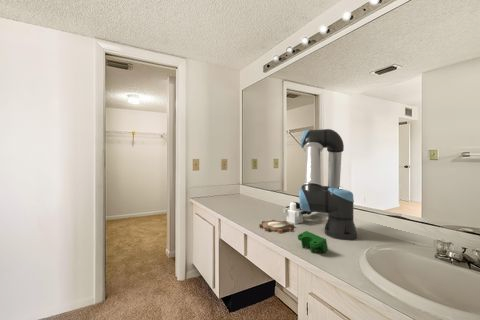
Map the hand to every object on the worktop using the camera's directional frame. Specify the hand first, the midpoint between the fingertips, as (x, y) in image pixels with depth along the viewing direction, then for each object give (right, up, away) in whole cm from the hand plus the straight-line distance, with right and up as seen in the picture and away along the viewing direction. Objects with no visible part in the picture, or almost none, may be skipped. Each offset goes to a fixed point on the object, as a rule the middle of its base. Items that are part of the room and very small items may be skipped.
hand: (290, 212), depth 125 cm
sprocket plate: (-10, -6, -8) cm, 14 cm away
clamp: (0, -7, -37) cm, 37 cm away
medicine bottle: (+3, -7, +3) cm, 8 cm away
